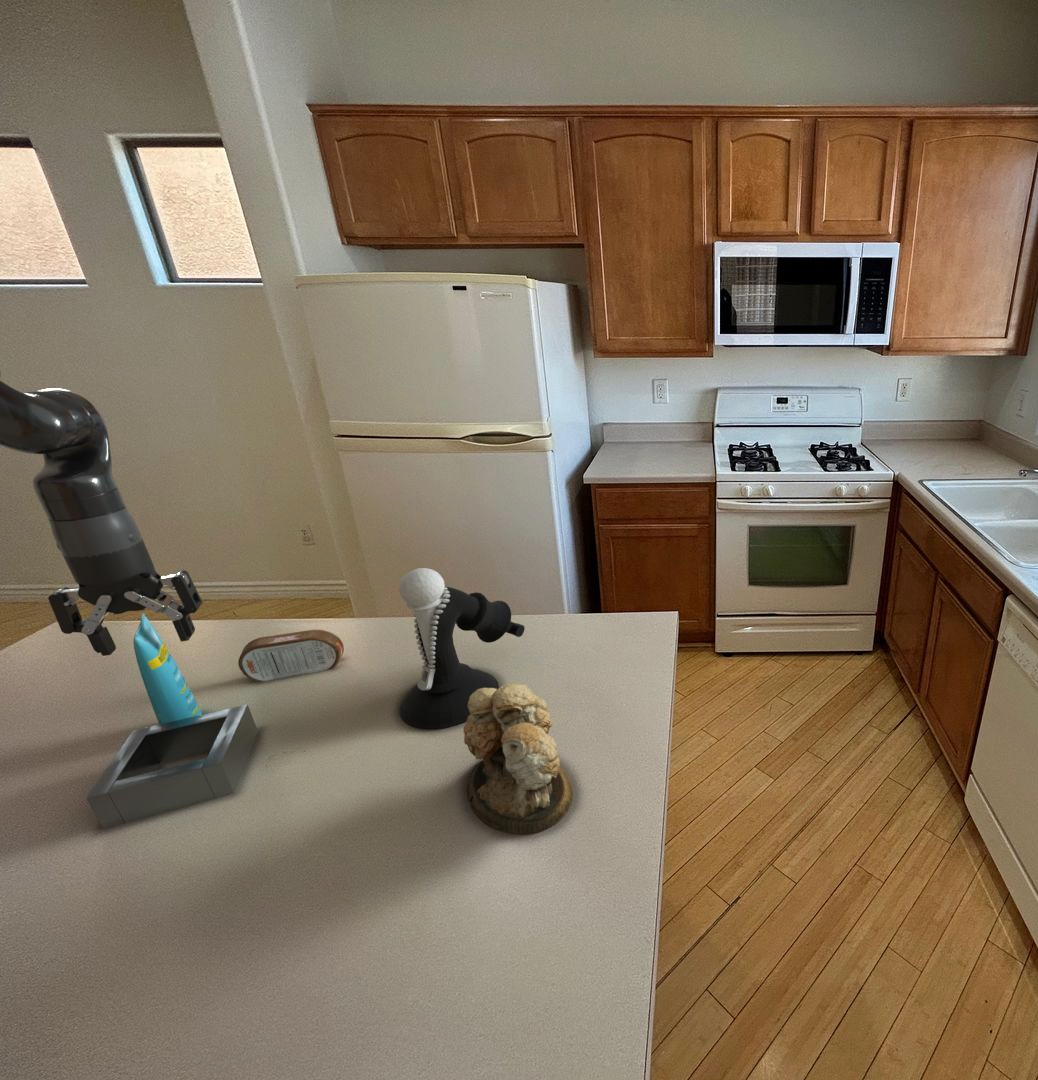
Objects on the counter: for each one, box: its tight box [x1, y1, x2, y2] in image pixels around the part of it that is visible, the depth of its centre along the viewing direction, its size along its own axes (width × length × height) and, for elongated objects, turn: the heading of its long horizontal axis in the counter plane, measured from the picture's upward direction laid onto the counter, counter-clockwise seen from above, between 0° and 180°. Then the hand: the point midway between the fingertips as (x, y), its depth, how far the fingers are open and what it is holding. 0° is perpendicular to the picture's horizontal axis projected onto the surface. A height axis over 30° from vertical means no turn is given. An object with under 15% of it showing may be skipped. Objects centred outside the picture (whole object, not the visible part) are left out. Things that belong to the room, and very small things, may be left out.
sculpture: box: [398, 567, 526, 731], centre depth 92 cm, size 15×24×25 cm, turn 151°
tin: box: [237, 629, 345, 683], centre depth 97 cm, size 15×3×8 cm, turn 111°
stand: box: [85, 704, 259, 830], centre depth 76 cm, size 13×13×6 cm
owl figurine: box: [463, 683, 574, 835], centre depth 73 cm, size 18×12×17 cm, turn 56°
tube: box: [133, 612, 203, 725], centre depth 83 cm, size 7×5×19 cm, turn 42°
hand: (149, 645), depth 80 cm, fingers open, 8 cm apart
